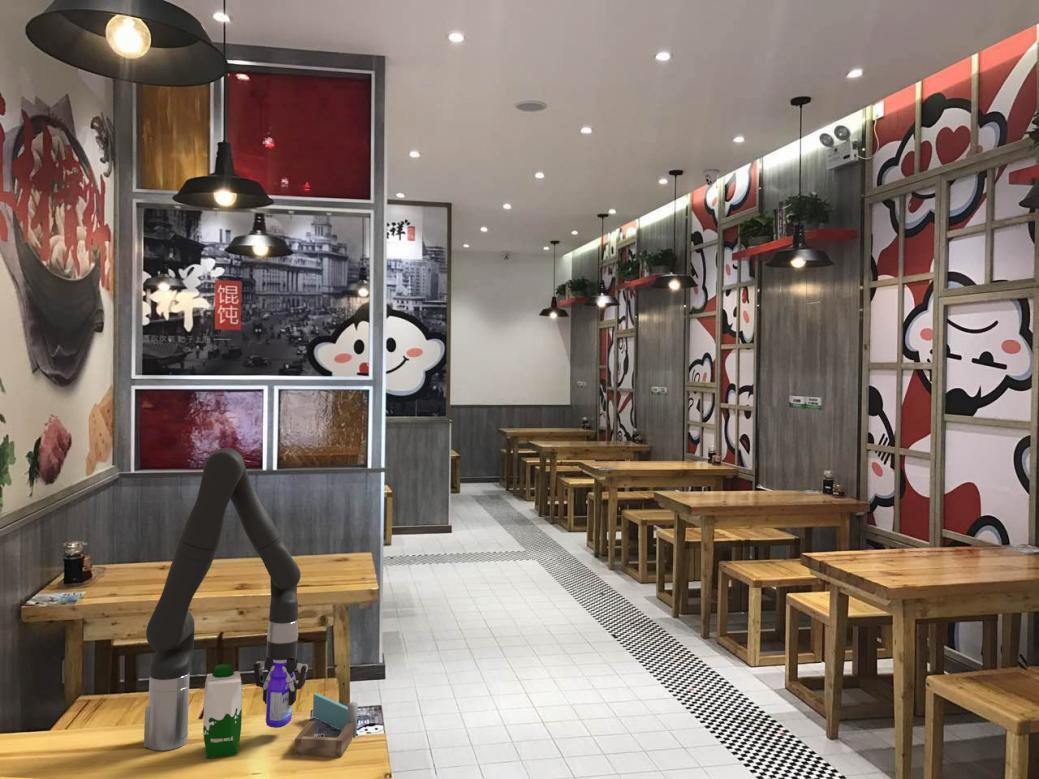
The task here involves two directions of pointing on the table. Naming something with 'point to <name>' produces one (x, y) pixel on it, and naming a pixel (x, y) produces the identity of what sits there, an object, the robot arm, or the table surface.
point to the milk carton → (222, 712)
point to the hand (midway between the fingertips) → (279, 703)
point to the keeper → (335, 712)
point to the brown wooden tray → (322, 742)
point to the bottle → (278, 697)
